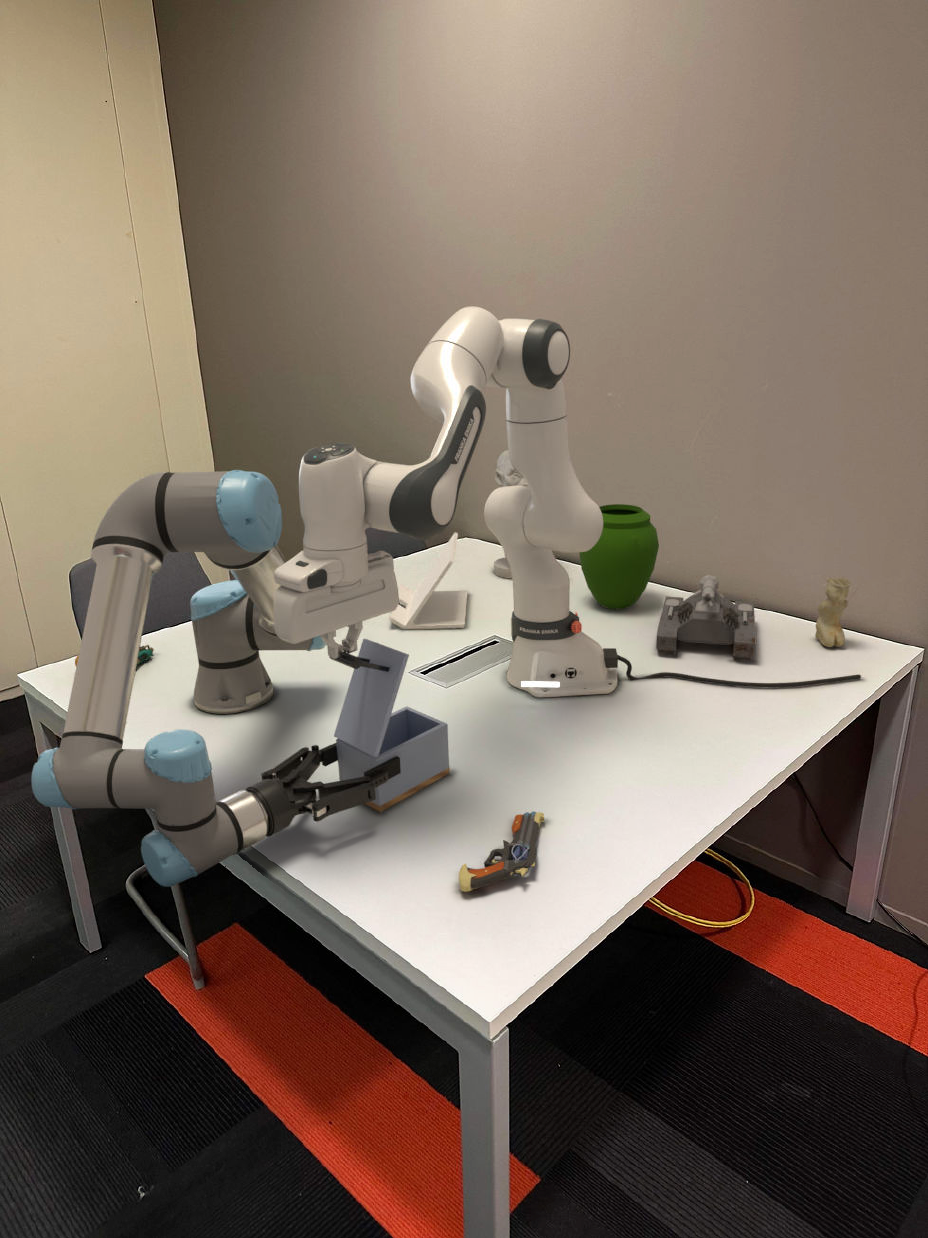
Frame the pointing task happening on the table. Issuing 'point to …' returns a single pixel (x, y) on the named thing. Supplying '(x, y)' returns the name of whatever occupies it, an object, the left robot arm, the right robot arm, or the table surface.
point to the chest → (401, 756)
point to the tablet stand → (432, 598)
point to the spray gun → (142, 655)
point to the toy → (707, 621)
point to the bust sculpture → (505, 477)
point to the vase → (621, 556)
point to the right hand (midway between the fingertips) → (342, 654)
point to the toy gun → (507, 855)
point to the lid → (370, 695)
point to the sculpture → (832, 613)
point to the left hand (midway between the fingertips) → (376, 753)
